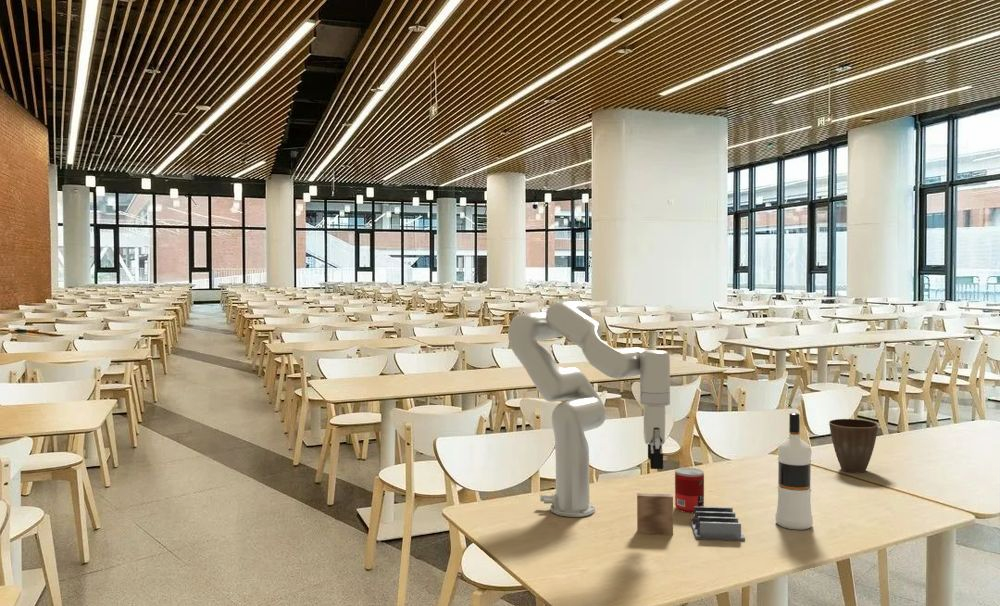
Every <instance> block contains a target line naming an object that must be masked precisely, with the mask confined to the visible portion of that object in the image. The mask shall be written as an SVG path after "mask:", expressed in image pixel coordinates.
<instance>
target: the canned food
mask: <svg viewBox="0 0 1000 606" xmlns="http://www.w3.org/2000/svg"><path fill="white" fill-rule="evenodd" d="M674 505H675V508H676V510H677V511H679V512H682V511H683V513H687V512H689V514H694V506H702V507H705V473H704V471H703V469H699V468H695V467H679V468H677V469H675V470H674ZM692 512H693V513H692Z"/></svg>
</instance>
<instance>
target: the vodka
mask: <svg viewBox="0 0 1000 606" xmlns="http://www.w3.org/2000/svg"><path fill="white" fill-rule="evenodd" d="M788 415H789V420H788V421H789V422H788V424H789V426H788V428H789V433H788V434H789V435H788V438H786V439H784V440H783V441H781V442H780V443H779V444H778V447H777V461H778V463H777V464H778V465H777V466H778V468H777V470H778V471H777V473H778V476H777V477H778V479H777V481H778V483H777V487H776V488H777V495H778V497H777V507H776V513H775V521H776V523H777V525H779V526H780V527H782V528H785V529H787V528H788V530H794V531H795V530H796V531H802V530H803V531H804V530H808V529H810V528H812V526H813V524H814V519H813V514H812V506H811V505H812V504H811V492H812V487H811V470H812V469H811V468H812V467H811V466H812V465H811V463H812V448H811V446H810V445H809V444H808V443H807V442H805V440H803V439H802V438H801V435H800V428H801V427H800V426H801V425H800V419H801V418H800V413H798V412H797V413H796V412H790V413H789V414H788Z"/></svg>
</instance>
